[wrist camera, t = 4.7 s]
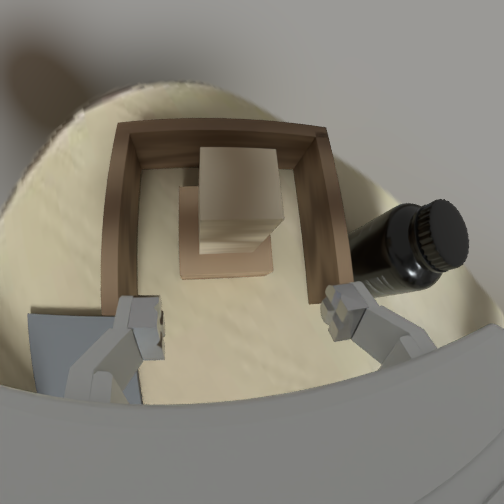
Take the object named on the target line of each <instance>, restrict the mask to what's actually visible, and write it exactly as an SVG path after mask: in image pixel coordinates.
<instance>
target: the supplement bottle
mask: <svg viewBox="0 0 504 504" xmlns="http://www.w3.org/2000/svg"><path fill="white" fill-rule="evenodd" d="M348 240H349V247H350V255H351V262H352V271H353V280H354V282H358V281H360V282H362V283H363V284H364V285H365V287H366V288H367V290H368V291H369V292H370V294H371V295H372V296H373V298H377V297H384V296H390V295H396V294H403V293H409V292H415V291H420V290H424V289H427V288H429V287H431V286H432V285H434V284H435V283H436V282H437V281H438V280H439V278H440V277H441V275H442V273H443V272H446V271H448V270H451V269H455V268H458V267H460V266H461V265H463V263H464V262H465V260H466V258H467V254H468V249H469V239H468V233H467V228H466V225H465V222H464V221H463V218H462V216H461V215H460V213H459V211H458V210H457V209H456V207H454V206H453V204H451V203H450V202H449V201H446V200H445V199H444V200H442V199H439V200H435V201H433V202H431V203H429V204H427V205H424V206H422V207H421V206H419V205H416V204H411V203H405V204H401V205H398V206H396V207H394V208H392V209H391V210H389V211H387V212H385V213H384V214H382V215H380V216H379V217H377V218H375V219H373V220H372V221H370V222H368V223H367V224H365V225H363V226H361V227H360V228H358V229H356V230H354V231H353V232H351V233H350V234H348Z"/></svg>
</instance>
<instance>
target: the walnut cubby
mask: <svg viewBox="0 0 504 504" xmlns="http://www.w3.org/2000/svg"><path fill="white" fill-rule="evenodd" d="M200 147H238V148H263V149H276V155H277V163H278V169H293V171H294V178H295V185H296V192H297V199H298V207H299V215H300V223H301V231H302V239H303V248H304V257H305V267H306V277H307V288H308V299H309V304H319V303H322V300H323V299H324V298H325V297H326V296H327V295H326V293H325V291H326V288H327V287H328V285H332V284H342V283H350V282H354V280H353V271H352V262H351V255H350V247H349V240H348V233H347V227H346V221H345V215H344V209H343V203H342V198H341V192H340V187H339V182H338V177H337V173H336V168H335V163H334V159H333V154H332V150H331V146H330V142H329V138H328V134H327V130H326V128H325V127H319V126H312V125H304V124H296V123H287V122H277V121H265V120H250V119H227V118H180V119H157V120H143V121H131V122H121V123H118V124H117V129H116V134H115V139H114V144H113V149H112V155H111V160H110V167H109V173H108V180H107V188H106V196H105V205H104V216H103V229H102V247H101V309H102V315H114V316H115V315H116V311H117V306H118V302H119V298H120V297H121V296H134V295H138V291H137V233H138V210H139V195H140V182H141V172H142V170H143V169H161V168H191V167H199V165H200ZM198 192H199V186H184V187H179V263H180V276H181V278H182V280H186V279H211V278H234V277H254V276H265V275H267V274H269V273H271V272H273V260H272V249H271V237H270V235H269V236H268V237H267V238H266V239H265V240H264V241H263V242H262V243H261V244H260V245H259V246H258V247H257V248H256V249H255V251H254V252H251V253H222V254H199V222H198Z"/></svg>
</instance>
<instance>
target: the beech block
mask: <svg viewBox="0 0 504 504" xmlns="http://www.w3.org/2000/svg"><path fill="white" fill-rule="evenodd" d="M283 220H284V212H283V203H282V195H281V186H280V178H279V170H278V163H277V155H276V149H263V148H238V147H200V165H199V192H198V222H199V254H222V253H251V252H254V251H255V249H256V248H257V247H258V246H259V245H260V244H261V243H262V242H263V241H264V240H265V239H266V238H267V237H268V236H269V235H270V234H271V233H272V232H273V231H274V229H275V228H276V227H277V226H278V225H279V224H280V223H281V222H282V221H283Z"/></svg>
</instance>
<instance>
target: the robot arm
mask: <svg viewBox="0 0 504 504" xmlns="http://www.w3.org/2000/svg"><path fill="white" fill-rule="evenodd" d="M325 293H326V295H327V296H326V297H325V298H324V299H323V300H322V303H321V306H320V310H321V317H322V319H323V321H324V322H325V323H326V324H328V325H329V328H328V331H329V333H330V335H331V337H332V339H333V341H334V342H336V341H342V340H348V339H351V340H352V341H353V342H355V343H356V344H357V345H358V346H360V347H361V348H362V349H363V350H365V351H366V352H367V353H368V354H370V355H371V356H372V357H373V358H375V359H376V360H377V361H378V362H380V363H381V364H382V365H381V366H380V368H379V369H378V371H375V372H371V373H368V374H365V375H361V376H358V377H354V378H351V379H347V380H343V381H339V382H335V383H331V384H327V385H323V386H318V387H314V388H309V389H304V390H299V391H294V392H289V393H283V394H278V395H271V396H265V397H258V398H251V399H243V400H234V401H224V402H212V403H197V404H170V405H146V404H129V402H128V401H127V399H126V397H125V396H124V394H123V390H124V389H125V387H126V386H127V384H128V383H129V381H130V380H131V378H132V377H133V376H134V374H135V373H136V371H137V370H138V368H139V367H140V365H141V364H142V362H143V361H142V360H165V343H164V339H163V338H164V337H165V320H164V313H163V311H162V302H161V297H160V295H134V296H121V297H120V298H119V302H118V306H117V311H116V315H115V320H114V325H113V328H109V329H108V330H107V331H106V332H105V333H104V334H103V335H102V336H101V337H100V338H99V339H98V340H97V341H96V342H95V343H94V344H93V345H92V346H91V347H90V348H89V349H88V350H87V351H86V352H85V353H84V354H83V355H82V356H81V357H80V358H79V359H78V360H77V361H76V362H75V363H74V364H73V365H72V366H71V367H70V370H69V375H68V379H67V384H66V389H65V395H64V398H62V397H55V396H49V395H44V394H39V393H34V392H29V391H24V390H20V389H16V388H12V387H8V386H4V385H0V504H504V329H503V328H502V327H500V326H498V325H496V324H493V323H491V324H488V325H486V326H484V327H482V328H480V329H478V330H476V331H474V332H472V333H470V334H468V335H466V336H464V337H462V338H460V339H458V340H456V341H453V342H451V343H449V344H447V345H445V346H442V347H440V348H438V349H437V347H436V346H435V344H434V343H433V342H432V340H431V339H430V337H429V336H428V334H427V333H426V332H425V330H424V329H422V328H421V327H419V326H417V325H415V324H414V323H412V322H410V321H408V320H407V319H405V318H403V317H401V316H400V315H398V314H396V313H394V312H393V311H391V310H389V309H387V308H386V307H384V306H379V305H378V303H377V302H376V300H375V299H374V298H373V296H372V295H371V294H370V292H369V291H368V290H367V288H366V287H365V285H364V284H363V283H362V282H360V281H358V282H350V283H342V284H332V285H328V287H327V288H326V291H325Z"/></svg>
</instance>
